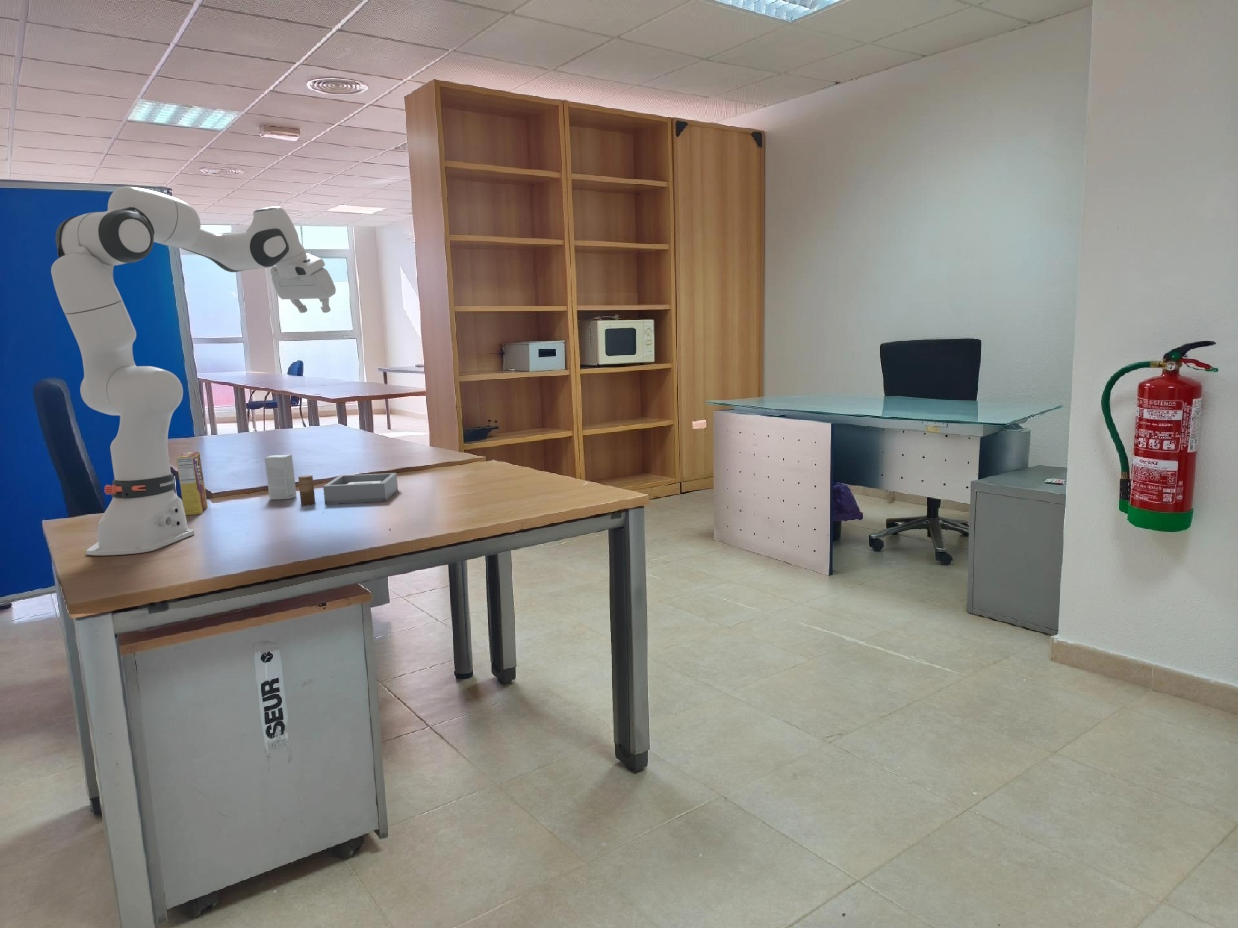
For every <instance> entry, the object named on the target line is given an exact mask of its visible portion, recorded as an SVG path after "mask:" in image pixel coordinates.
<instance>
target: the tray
mask: <svg viewBox="0 0 1238 928" xmlns="http://www.w3.org/2000/svg"><path fill="white" fill-rule="evenodd" d="M322 488H323V498H324V505H326V504H327V505H337V504H336V503H348V504H362V503H361V502H369V503H383V502H382V501H386V502H387V501H389V499H390V498H391V497H393V495H394V494H396V492H398V490H399V488H398V474H397V472H389V473H365V474H344V475H341V474H340V475H338V476H337V477H335V478H334V479H332V480H330V481H329V482H327V483H326V484H324V485H323V487H322Z"/></svg>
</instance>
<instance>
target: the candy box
mask: <svg viewBox="0 0 1238 928" xmlns="http://www.w3.org/2000/svg"><path fill="white" fill-rule="evenodd" d="M175 461H176V465H177V474H178V480H179V486H180V495H181V500H182V502H183V507H184V511H185V516H193V515H194V516H195V515H202V514H203V512H205V511H206V510H207V509H208V499H207V494H206V493H207V492H206V486H205V481H204V473H203V468H202V461H201V455H200V451H193V452H191V451H190V452H183V453H182V454H181V455H178V456H177V457H176V458H175Z"/></svg>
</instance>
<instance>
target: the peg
mask: <svg viewBox="0 0 1238 928" xmlns="http://www.w3.org/2000/svg"><path fill="white" fill-rule="evenodd" d="M298 488H299V499H300V505H301V506H312V505H316V497H315V488H314V477H313V475H312V474H311V475H310V474H307V475H300V476H298Z"/></svg>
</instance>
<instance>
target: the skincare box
mask: <svg viewBox="0 0 1238 928" xmlns="http://www.w3.org/2000/svg"><path fill="white" fill-rule="evenodd" d="M293 462H294V461H293V454H278V455H277V454H275V455H274V454H273V455H269V456H266V457H264V463H265V464H264V465H265V470H266V471H265V472H266V479H267V489H268V498H269V500H270V501H271V500H290V499H293V498H295V497H297V487H296V480H295V471H294V463H293Z"/></svg>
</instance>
